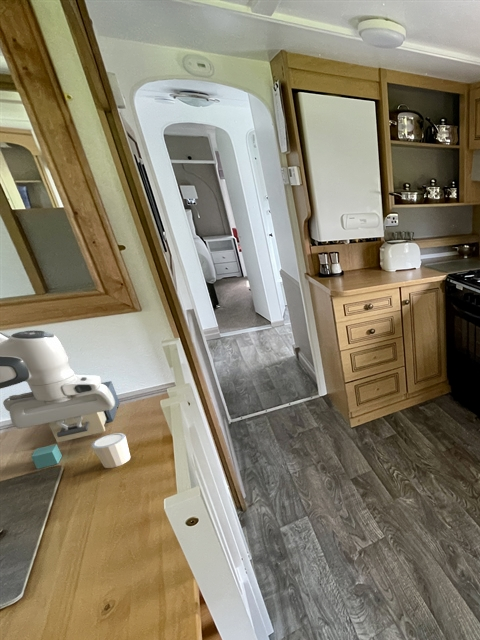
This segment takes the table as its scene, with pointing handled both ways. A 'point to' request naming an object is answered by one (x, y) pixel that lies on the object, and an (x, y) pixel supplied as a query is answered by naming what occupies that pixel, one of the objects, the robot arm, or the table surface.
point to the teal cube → (46, 456)
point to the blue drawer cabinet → (112, 412)
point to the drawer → (89, 427)
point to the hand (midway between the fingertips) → (75, 430)
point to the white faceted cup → (112, 450)
